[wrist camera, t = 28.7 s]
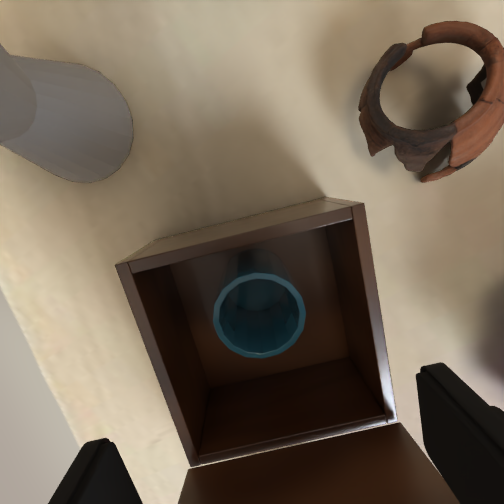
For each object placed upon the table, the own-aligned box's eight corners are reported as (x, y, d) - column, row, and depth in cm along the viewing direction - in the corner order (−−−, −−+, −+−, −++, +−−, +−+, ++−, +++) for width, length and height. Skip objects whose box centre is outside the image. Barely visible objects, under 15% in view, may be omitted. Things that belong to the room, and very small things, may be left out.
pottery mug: (393, 211, 25) (396, 186, 17) (342, 125, 27) (327, 70, 20) (558, 128, 21) (657, 48, 13) (483, 34, 23) (530, -80, 15)
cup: (225, 244, 24) (216, 268, 17) (293, 251, 24) (312, 277, 17) (219, 308, 25) (209, 354, 19) (284, 314, 26) (298, 361, 19)
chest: (154, 239, 25) (114, 264, 17) (327, 196, 24) (364, 202, 17) (205, 391, 28) (190, 467, 21) (356, 356, 28) (398, 421, 20)
